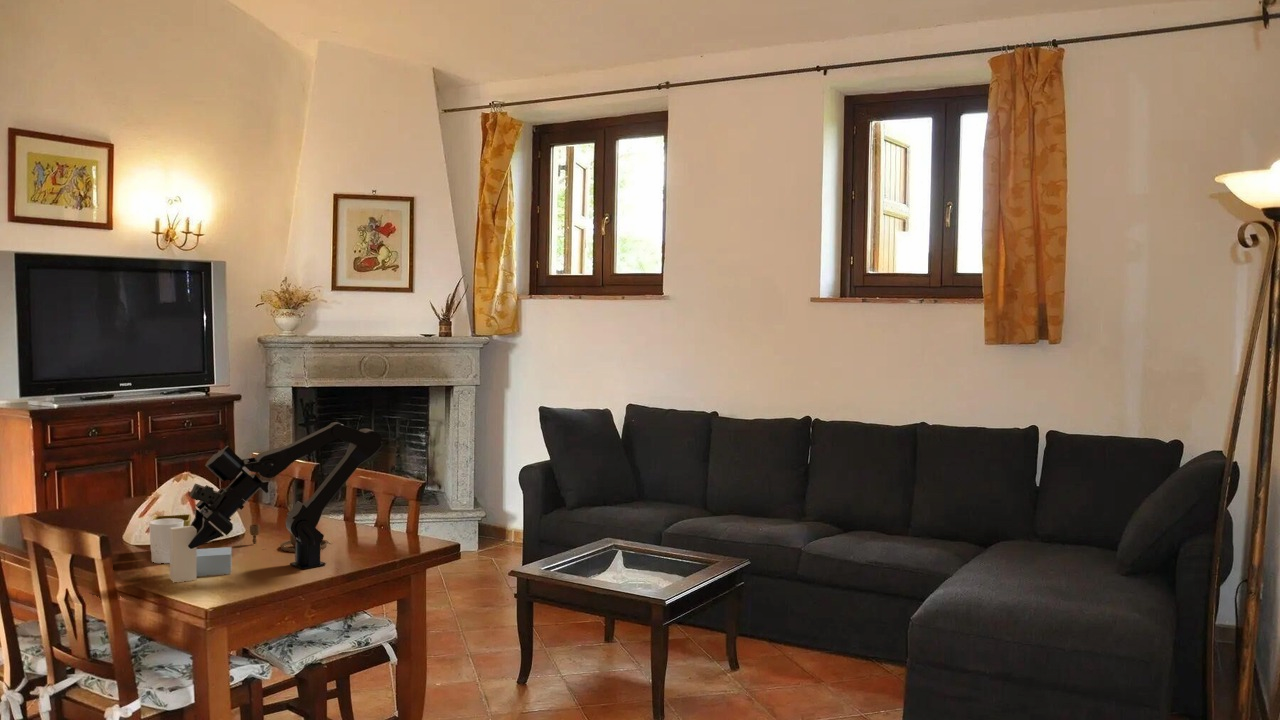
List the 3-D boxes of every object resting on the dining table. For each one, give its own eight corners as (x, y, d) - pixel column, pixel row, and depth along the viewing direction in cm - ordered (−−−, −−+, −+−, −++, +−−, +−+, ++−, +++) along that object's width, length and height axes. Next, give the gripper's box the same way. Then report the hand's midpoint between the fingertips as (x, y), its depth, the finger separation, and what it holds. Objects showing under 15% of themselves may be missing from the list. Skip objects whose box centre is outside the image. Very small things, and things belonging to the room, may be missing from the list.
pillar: (192, 575, 237) (193, 525, 236) (196, 580, 233) (196, 529, 232) (169, 578, 234) (170, 527, 234) (173, 582, 230) (173, 531, 230)
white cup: (142, 563, 247) (142, 524, 246) (159, 556, 254) (159, 517, 254) (173, 564, 246) (173, 525, 246) (189, 557, 254) (189, 518, 254)
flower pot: (151, 557, 254) (151, 522, 253) (154, 549, 262) (154, 515, 261) (189, 554, 257) (189, 520, 256) (190, 547, 265) (191, 513, 265)
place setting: (286, 559, 257) (286, 536, 256) (244, 547, 269) (245, 525, 269) (343, 548, 270) (344, 526, 270) (302, 536, 283) (302, 516, 283)
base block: (231, 566, 246) (231, 547, 246) (230, 574, 239) (230, 554, 239) (196, 569, 243) (196, 549, 243) (194, 577, 236) (194, 556, 236)
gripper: (205, 466, 244) (155, 514, 238) (218, 477, 228) (165, 529, 222) (239, 496, 248) (190, 543, 243) (254, 509, 232) (202, 560, 227)
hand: (186, 543), depth 234 cm, fingers open, 9 cm apart
